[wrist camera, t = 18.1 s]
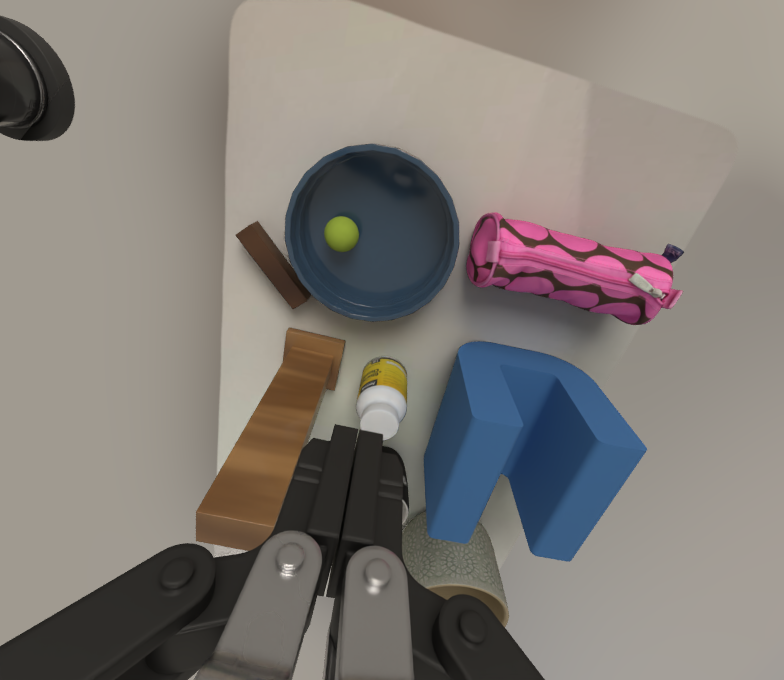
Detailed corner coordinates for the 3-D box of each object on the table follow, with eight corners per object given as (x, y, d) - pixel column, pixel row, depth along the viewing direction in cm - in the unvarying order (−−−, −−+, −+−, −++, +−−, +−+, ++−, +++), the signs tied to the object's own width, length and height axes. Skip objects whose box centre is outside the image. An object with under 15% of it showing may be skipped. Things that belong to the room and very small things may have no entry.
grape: (330, 221, 46) (311, 231, 43) (353, 206, 44) (334, 215, 41) (347, 250, 47) (330, 262, 44) (370, 237, 45) (353, 249, 42)
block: (577, 360, 53) (649, 452, 37) (530, 453, 62) (573, 562, 46) (453, 334, 52) (473, 418, 36) (422, 433, 60) (427, 537, 44)
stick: (292, 309, 49) (297, 302, 51) (307, 300, 48) (311, 294, 50) (235, 235, 45) (243, 231, 47) (250, 224, 44) (257, 220, 46)
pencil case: (652, 236, 45) (712, 258, 36) (615, 309, 50) (659, 345, 41) (479, 198, 44) (497, 211, 35) (456, 277, 49) (467, 306, 40)
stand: (289, 327, 53) (181, 489, 28) (345, 340, 53) (289, 511, 28) (282, 374, 56) (183, 555, 32) (335, 386, 57) (278, 573, 32)
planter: (387, 545, 73) (382, 636, 60) (412, 485, 66) (413, 574, 52) (470, 562, 75) (484, 655, 61) (503, 506, 67) (528, 597, 54)
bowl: (264, 213, 46) (248, 221, 41) (393, 104, 40) (391, 99, 36) (361, 331, 53) (357, 348, 48) (483, 251, 47) (491, 262, 42)
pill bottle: (389, 346, 54) (384, 394, 43) (415, 378, 56) (417, 431, 45) (353, 369, 55) (341, 420, 45) (380, 398, 58) (374, 454, 47)
